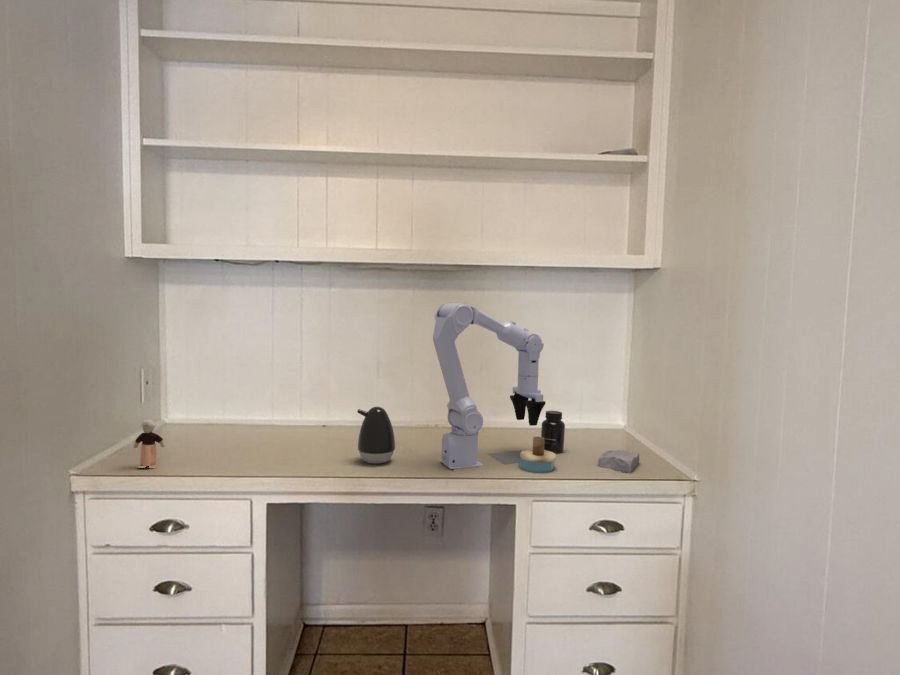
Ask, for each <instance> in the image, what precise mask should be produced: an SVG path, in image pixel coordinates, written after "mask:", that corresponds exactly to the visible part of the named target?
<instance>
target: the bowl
mask: <svg viewBox="0 0 900 675" xmlns="http://www.w3.org/2000/svg"><path fill="white" fill-rule="evenodd" d="M519 468H521V469H522V470H524V471H525V472H531V473H537V474H539V473H540V474H542V473H551V472H552V471H553V470H554V469H555V460H554V461H551V462H532V461H527V460H524V459H522V458H521V457H520V463H519Z"/></svg>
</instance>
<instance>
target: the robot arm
mask: <svg viewBox="0 0 900 675" xmlns="http://www.w3.org/2000/svg"><path fill="white" fill-rule="evenodd" d="M434 319H435V320H434V321H435V324H434V327H433V334H432V340H433V345H434V346H433V347H434V348H435V352H436V357H437V360H438V363H439V366H440V369H441V373H442V377H443V381H444V384H445V388H446V391H447V395H448V398H449V401H448V402H447V422H448V424H450V426H451V432H448V433H444V434H442V438H441V459H440V462H441V463H442V464H443V465H445V466H446V467H447V468H448V469H450V470H455V469H465V468H475V467H483V465H484V464H483V463H482V462H480V461H478V453H479V452H478V450H479V448H478V445H479V444H478V443H479V432H480V430H481V429H483V428H482V427H483V426H484V418H483V415H482V414H481V413H480V411H479V410H478V408H477V405H476V403H475V402H474V400H473V399H472V398H471V396H470V393H469V390H468V386H467V382H466V378H465V375H464V371H463V368H462V364H461V360H460V357H459V352H458V350H457V346H456V340H457V338H458V337H459V335H460V334H462V332H464V330H466V329H467V328H468V327H469V326H470V325H477V326H478V327H479V326H480V327H482V328H484V329H486V330H488V331H491V332H493V333H495V334H496V337H497V339H498V340H499V341H501V342H503V343H505V344H507V345H509V346H511V347H513V348H514V349H515V350H516V351H517V352H518V358H517V359H518V361H517V362H518V364H517V386H512V394H513V395H509V399H510V400H511V403H512V405H513V409H514V413H515V419H516V420H517V421H522V420H523V421H524V420H525V416H526V410H527V416H528V425H529V427H531V426H532V427H533V426H537V425H538V423H539V419H540V415H541V413H542V411H543V409H544V407H545V406H546V404H547V403H546V401H545V400H544V394H543V393H542V390H540V389H538V387H539V386H538V385H539V384H538V383H539V362H540V357H541V356H540V355H541V352H542V350H543V349H544V345H545V344H544V343H543V340H542V338H541V336H539V334H536V333H530V332H529V329H528V328H522V327H520V326H518V325H517V322H515V321H513V320H510V321H508V320H507V321H503V322H501V321H499V320H497V319H496V318H495V317H493V316H491V315H489V314H487V313H485V312H484V311H482V310H481V309H479V308H477V307H475V306H471V305H469V304H468V303H456V302H455V303H452V302H444V303H442V304H441V305H439V307H438V309H437V310H436V312H435V313H434Z"/></svg>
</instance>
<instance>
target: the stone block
mask: <svg viewBox="0 0 900 675" xmlns="http://www.w3.org/2000/svg"><path fill="white" fill-rule="evenodd" d="M639 463H640V452H634V451H629V450H625V449H615V450H612V449H611V450H606V451H605V452H603V453H602V454H601V455H600V456H599V457H598V459H597V464H598V467H600V468H603V469H608V470H613V471H615V472H619V471H620V472H621V473H628V474H631V473H632V472H633V471H634V470H633V469H635V468H636V467H637V466H638V465H639ZM632 470H633V471H632ZM630 472H631V473H630Z"/></svg>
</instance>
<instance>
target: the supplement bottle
mask: <svg viewBox="0 0 900 675" xmlns="http://www.w3.org/2000/svg"><path fill="white" fill-rule="evenodd" d="M544 417H545V419H544V420H543V421H542V422H541V430H540V431H541V432H540V434H541V435H540V437H543V438H545V439H544V450H546V451H550V452H553V453H555V454H556V455H557V454H562V453H564V450H565V435H566V434H565V432H566V430H565V429H566V425H565V423H564V421H563V412H562V411H558V410H546V411H545V416H544Z"/></svg>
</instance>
